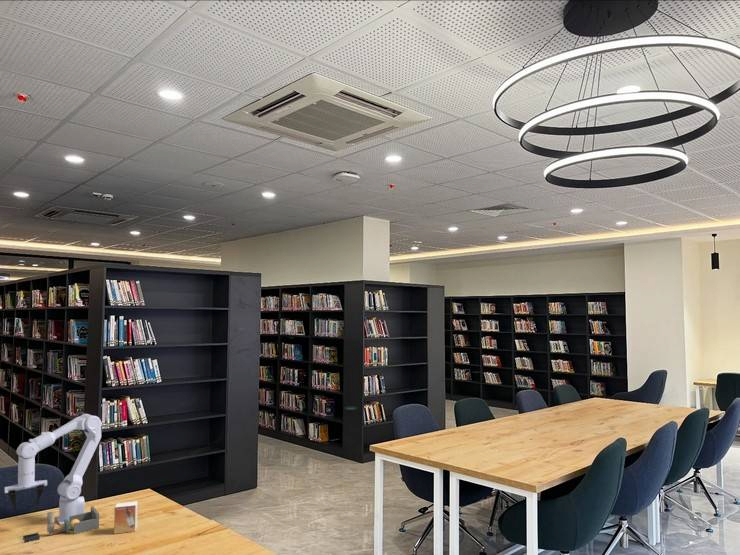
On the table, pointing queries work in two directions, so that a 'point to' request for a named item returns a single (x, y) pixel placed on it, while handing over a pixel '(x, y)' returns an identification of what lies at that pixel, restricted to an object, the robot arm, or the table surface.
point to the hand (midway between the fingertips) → (25, 507)
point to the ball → (73, 523)
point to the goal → (86, 521)
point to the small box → (125, 517)
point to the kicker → (51, 525)
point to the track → (31, 537)
